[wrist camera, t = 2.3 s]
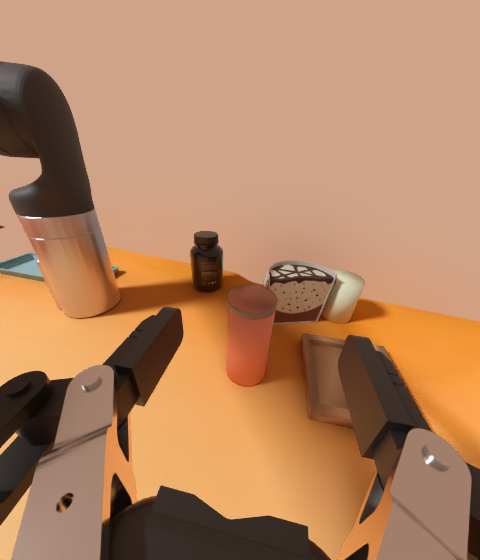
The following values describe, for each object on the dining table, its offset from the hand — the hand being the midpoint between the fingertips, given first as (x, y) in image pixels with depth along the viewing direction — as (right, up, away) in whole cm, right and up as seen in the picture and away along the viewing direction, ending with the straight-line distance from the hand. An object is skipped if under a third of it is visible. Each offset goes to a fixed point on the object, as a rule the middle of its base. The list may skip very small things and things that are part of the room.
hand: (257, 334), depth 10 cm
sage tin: (+18, -4, +30) cm, 35 cm away
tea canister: (0, -10, +19) cm, 21 cm away
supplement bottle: (-8, +1, +37) cm, 38 cm away
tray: (+14, -11, +18) cm, 25 cm away
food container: (+8, -4, +30) cm, 31 cm away
